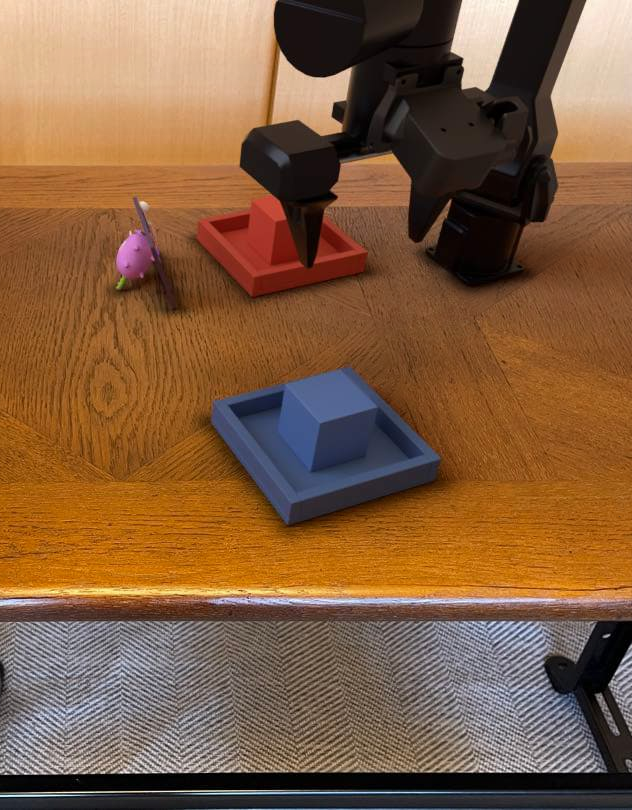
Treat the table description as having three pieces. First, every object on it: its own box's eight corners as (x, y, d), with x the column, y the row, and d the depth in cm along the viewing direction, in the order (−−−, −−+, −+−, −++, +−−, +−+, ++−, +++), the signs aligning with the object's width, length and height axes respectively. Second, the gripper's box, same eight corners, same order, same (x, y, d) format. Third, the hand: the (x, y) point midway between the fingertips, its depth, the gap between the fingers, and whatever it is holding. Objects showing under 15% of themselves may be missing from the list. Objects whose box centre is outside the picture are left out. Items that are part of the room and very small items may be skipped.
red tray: (300, 217, 93) (303, 198, 91) (363, 272, 85) (368, 251, 83) (196, 238, 89) (197, 219, 88) (251, 297, 82) (254, 276, 80)
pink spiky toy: (162, 242, 76) (143, 192, 82) (103, 265, 76) (89, 213, 83) (185, 305, 80) (165, 252, 87) (128, 326, 80) (113, 272, 87)
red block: (287, 233, 89) (294, 190, 86) (312, 256, 86) (320, 212, 83) (246, 242, 88) (251, 199, 85) (270, 265, 84) (276, 221, 82)
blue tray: (345, 387, 72) (350, 365, 70) (435, 481, 64) (442, 458, 62) (210, 422, 68) (213, 401, 67) (287, 526, 60) (291, 503, 59)
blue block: (330, 417, 68) (340, 368, 65) (366, 456, 65) (378, 406, 62) (277, 432, 67) (285, 383, 64) (310, 472, 63) (320, 423, 61)
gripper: (350, 103, 49) (309, 343, 59) (624, 53, 54) (543, 281, 64) (247, 37, 57) (226, 258, 67) (494, -1, 62) (440, 210, 72)
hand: (361, 252), depth 67 cm, fingers open, 9 cm apart
